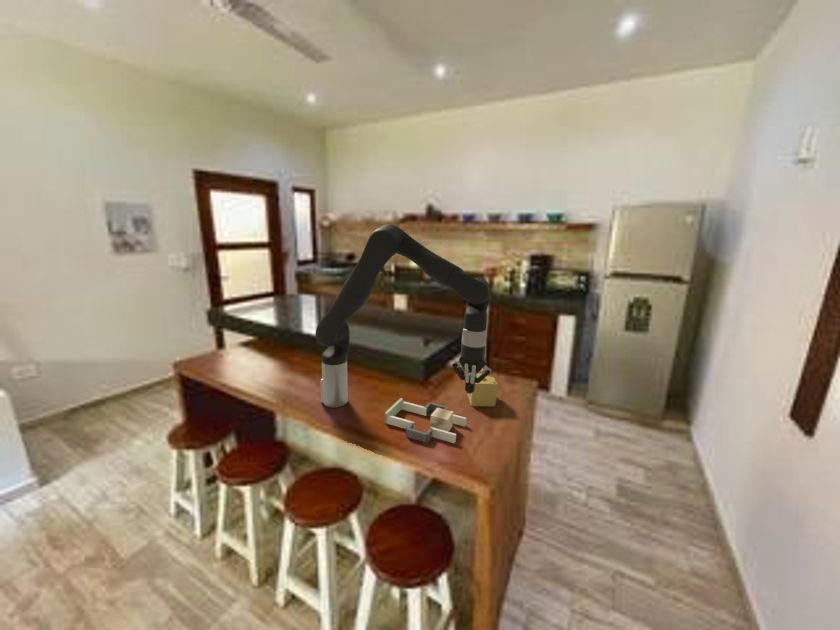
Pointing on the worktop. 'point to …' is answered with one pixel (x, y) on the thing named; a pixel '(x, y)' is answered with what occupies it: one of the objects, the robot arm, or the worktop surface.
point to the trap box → (409, 425)
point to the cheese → (484, 392)
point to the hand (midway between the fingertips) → (469, 392)
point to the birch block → (442, 419)
